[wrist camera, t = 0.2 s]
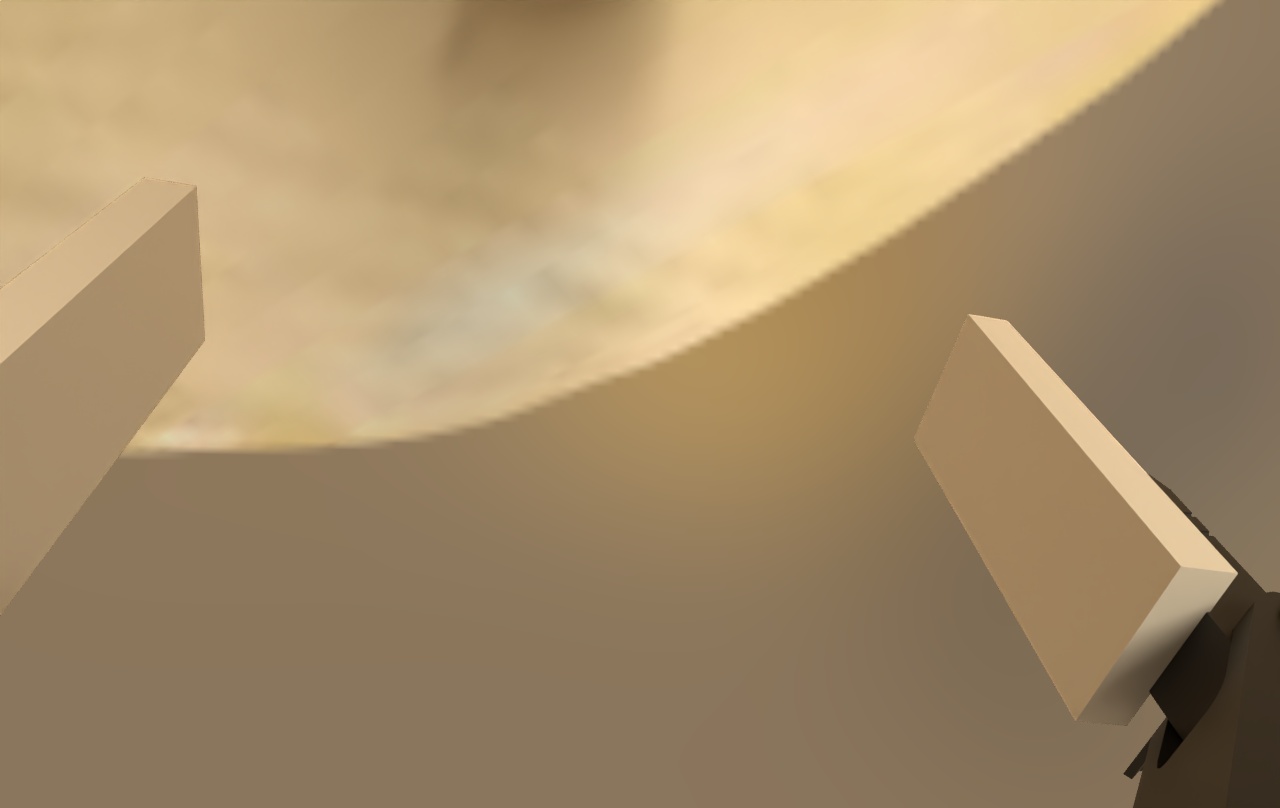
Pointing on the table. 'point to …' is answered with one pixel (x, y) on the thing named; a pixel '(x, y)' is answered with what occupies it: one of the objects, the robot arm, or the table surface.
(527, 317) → the table surface
